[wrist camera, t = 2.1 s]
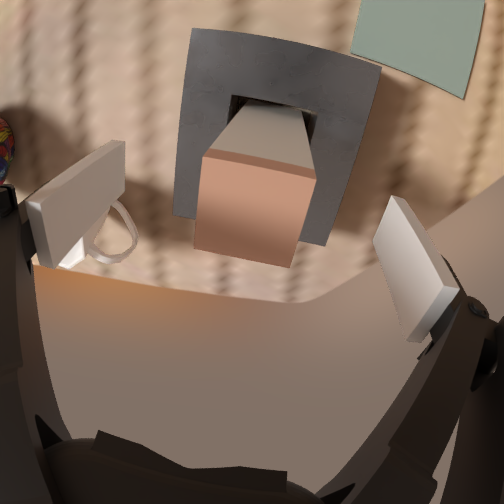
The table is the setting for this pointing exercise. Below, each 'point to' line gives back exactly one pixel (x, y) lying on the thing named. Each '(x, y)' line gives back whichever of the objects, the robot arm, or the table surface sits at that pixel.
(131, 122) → the table surface
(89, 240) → the cup
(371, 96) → the grey square holder
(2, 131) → the egg
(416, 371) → the robot arm
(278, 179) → the plug
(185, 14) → the table surface
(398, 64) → the mat
